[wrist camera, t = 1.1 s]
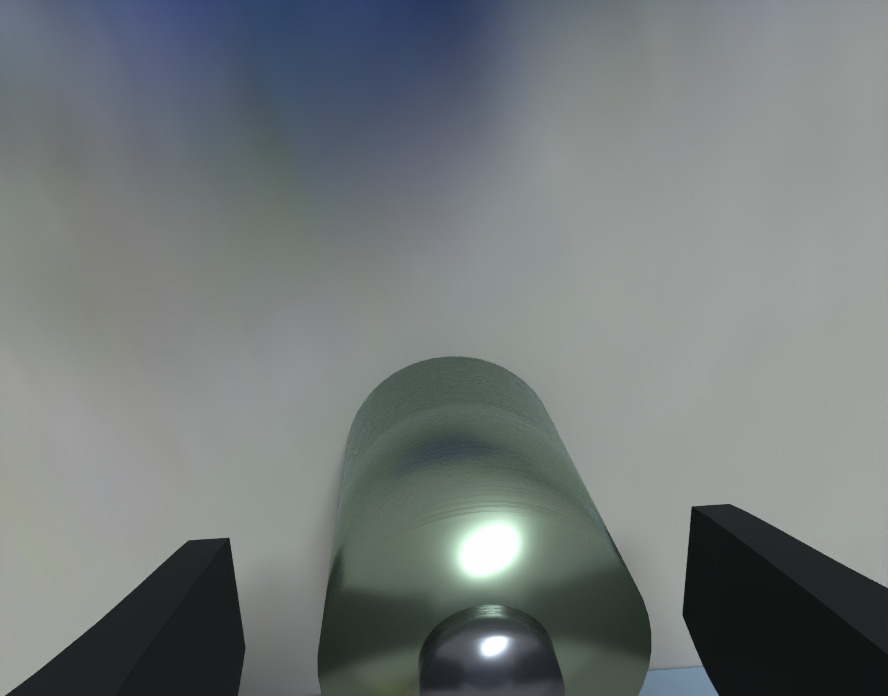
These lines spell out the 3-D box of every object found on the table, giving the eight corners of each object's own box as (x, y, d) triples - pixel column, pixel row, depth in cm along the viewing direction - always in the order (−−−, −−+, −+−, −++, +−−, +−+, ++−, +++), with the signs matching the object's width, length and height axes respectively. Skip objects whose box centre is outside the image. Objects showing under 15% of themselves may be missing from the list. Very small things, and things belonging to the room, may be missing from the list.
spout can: (557, 350, 15) (680, 530, 8) (552, 599, 16) (650, 899, 10) (338, 362, 14) (295, 556, 8) (359, 612, 16) (337, 928, 10)
